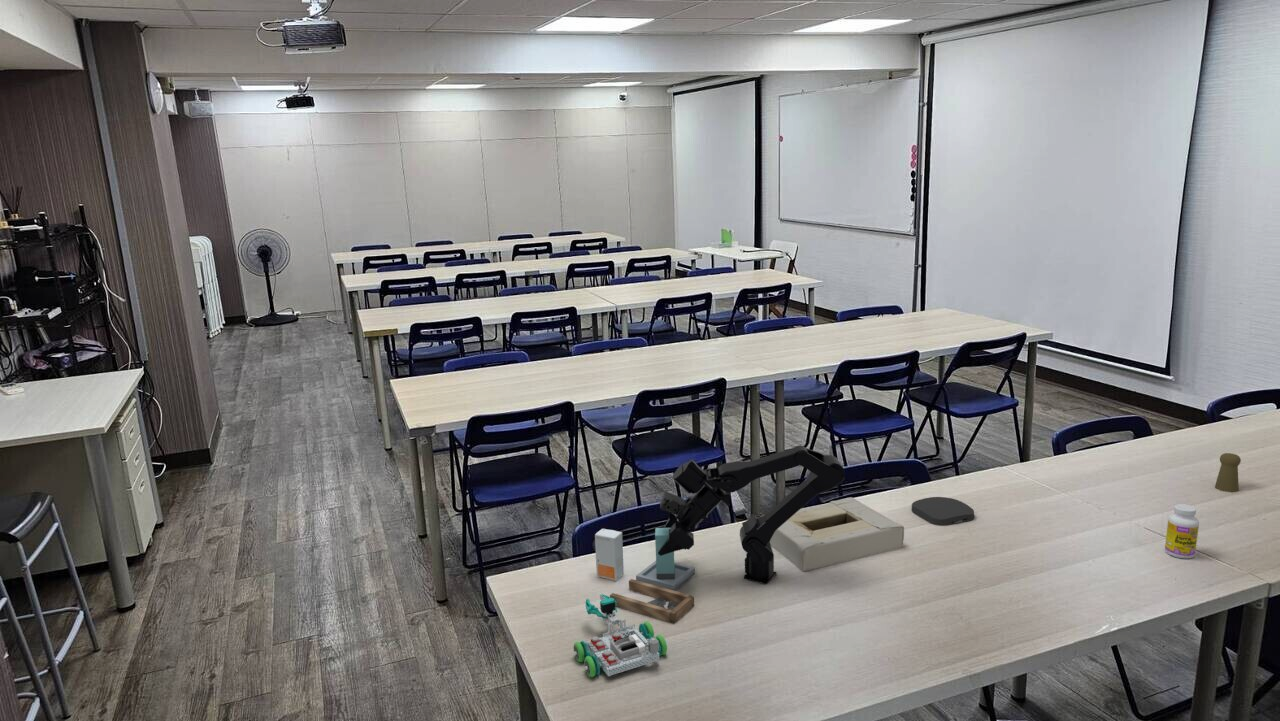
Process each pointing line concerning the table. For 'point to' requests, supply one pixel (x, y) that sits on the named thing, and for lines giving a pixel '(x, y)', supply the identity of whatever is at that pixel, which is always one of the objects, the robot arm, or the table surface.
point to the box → (835, 534)
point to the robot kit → (618, 643)
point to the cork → (1228, 473)
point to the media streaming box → (942, 510)
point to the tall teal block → (663, 556)
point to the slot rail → (653, 610)
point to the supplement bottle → (1182, 532)
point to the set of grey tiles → (663, 603)
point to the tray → (681, 577)
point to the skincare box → (609, 554)
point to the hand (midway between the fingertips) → (659, 546)
